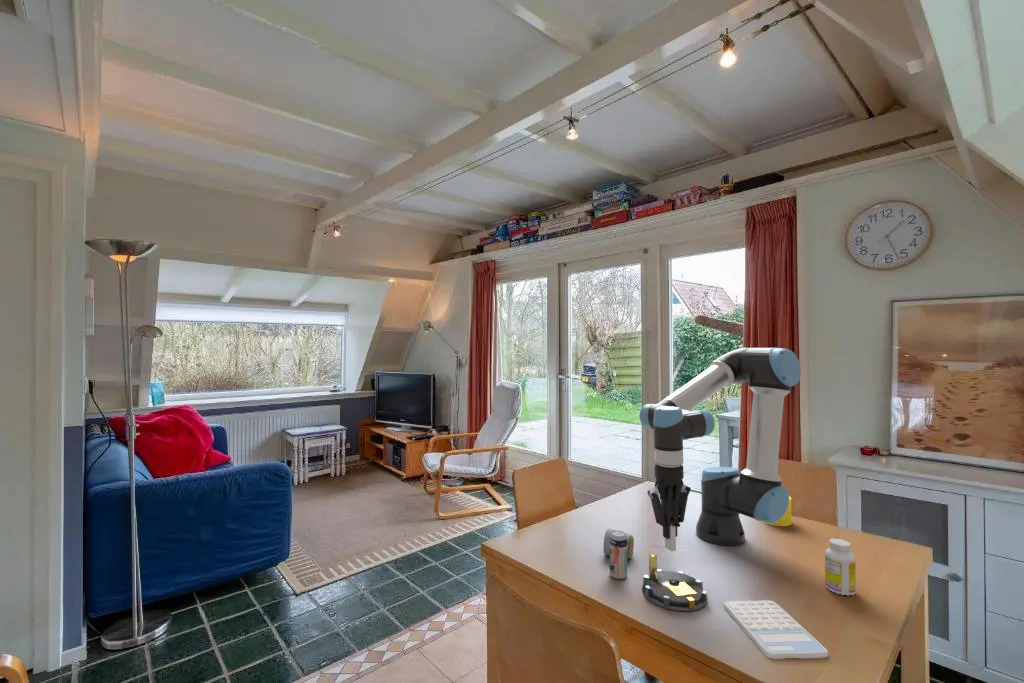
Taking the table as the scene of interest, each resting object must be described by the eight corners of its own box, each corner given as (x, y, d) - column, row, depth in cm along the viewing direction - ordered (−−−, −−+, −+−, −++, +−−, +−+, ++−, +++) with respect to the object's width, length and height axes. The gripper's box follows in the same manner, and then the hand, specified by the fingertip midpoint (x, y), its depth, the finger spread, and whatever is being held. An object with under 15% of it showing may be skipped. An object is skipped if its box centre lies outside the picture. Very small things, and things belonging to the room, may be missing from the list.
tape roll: (758, 522, 170) (758, 497, 170) (761, 514, 178) (761, 490, 178) (790, 529, 164) (790, 502, 164) (792, 520, 173) (792, 494, 173)
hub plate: (690, 578, 130) (690, 576, 130) (719, 611, 114) (719, 609, 114) (634, 579, 129) (634, 577, 129) (654, 612, 113) (654, 610, 113)
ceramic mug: (629, 564, 138) (630, 538, 138) (602, 558, 142) (602, 533, 142) (636, 550, 148) (636, 526, 148) (610, 545, 151) (610, 521, 151)
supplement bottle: (850, 586, 126) (850, 538, 126) (859, 599, 120) (859, 549, 120) (821, 582, 128) (821, 535, 128) (829, 594, 122) (829, 545, 122)
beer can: (607, 572, 133) (607, 530, 133) (623, 571, 134) (623, 529, 134) (612, 580, 129) (612, 537, 129) (629, 580, 129) (629, 536, 129)
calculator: (773, 606, 117) (773, 598, 117) (831, 660, 97) (831, 651, 97) (721, 607, 117) (721, 599, 117) (768, 661, 97) (768, 652, 97)
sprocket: (652, 570, 133) (652, 542, 133) (711, 586, 124) (711, 556, 124) (635, 596, 119) (635, 565, 119) (700, 616, 111) (700, 582, 111)
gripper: (678, 457, 133) (680, 539, 134) (640, 463, 129) (642, 547, 129) (697, 464, 126) (699, 550, 127) (657, 470, 122) (659, 559, 122)
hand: (670, 548), depth 128 cm, fingers closed
